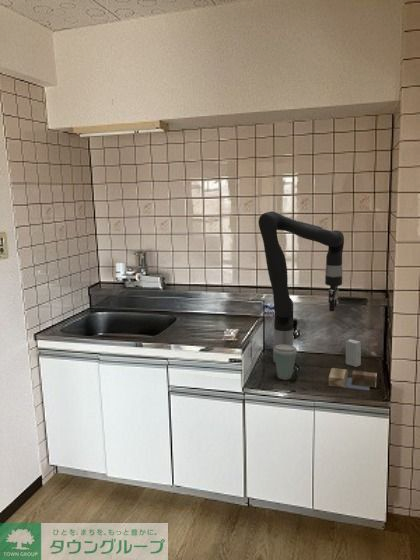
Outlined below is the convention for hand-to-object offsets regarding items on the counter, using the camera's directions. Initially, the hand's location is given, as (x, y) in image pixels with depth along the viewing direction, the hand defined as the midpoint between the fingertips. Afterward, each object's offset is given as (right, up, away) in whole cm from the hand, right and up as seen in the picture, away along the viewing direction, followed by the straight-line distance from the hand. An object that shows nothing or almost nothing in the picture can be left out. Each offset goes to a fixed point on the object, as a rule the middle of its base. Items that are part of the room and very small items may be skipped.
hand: (332, 308), depth 214 cm
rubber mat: (+8, -33, -11) cm, 35 cm away
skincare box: (+13, -28, +12) cm, 33 cm away
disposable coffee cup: (-22, -32, -1) cm, 39 cm away
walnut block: (+6, -30, -10) cm, 32 cm away
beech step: (0, -32, -8) cm, 33 cm away
